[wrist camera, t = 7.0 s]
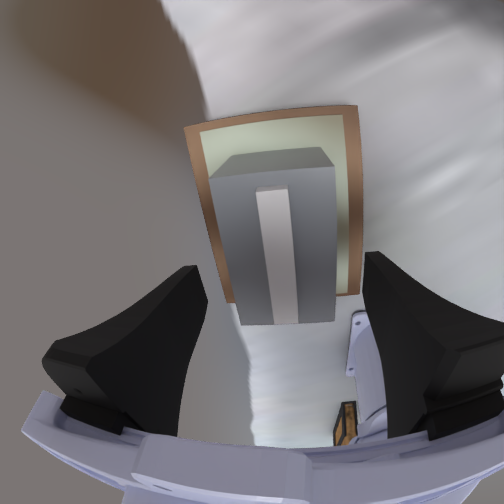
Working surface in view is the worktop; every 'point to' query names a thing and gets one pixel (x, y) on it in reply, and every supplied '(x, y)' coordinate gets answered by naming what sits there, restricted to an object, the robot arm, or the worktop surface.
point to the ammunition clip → (345, 424)
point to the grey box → (279, 234)
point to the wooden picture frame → (278, 138)
